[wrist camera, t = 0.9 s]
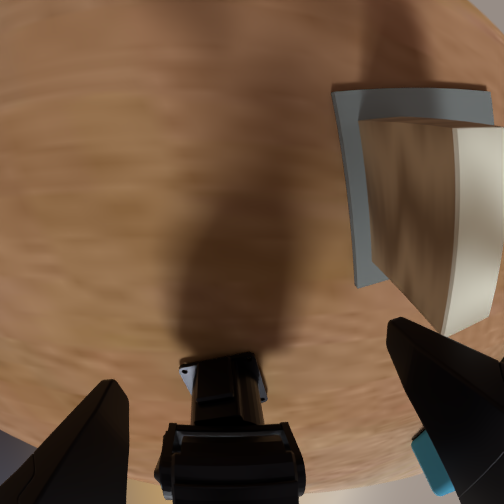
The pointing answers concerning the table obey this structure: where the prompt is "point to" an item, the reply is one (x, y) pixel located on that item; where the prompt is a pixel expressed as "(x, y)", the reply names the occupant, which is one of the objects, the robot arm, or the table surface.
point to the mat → (347, 116)
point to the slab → (437, 213)
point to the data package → (432, 465)
